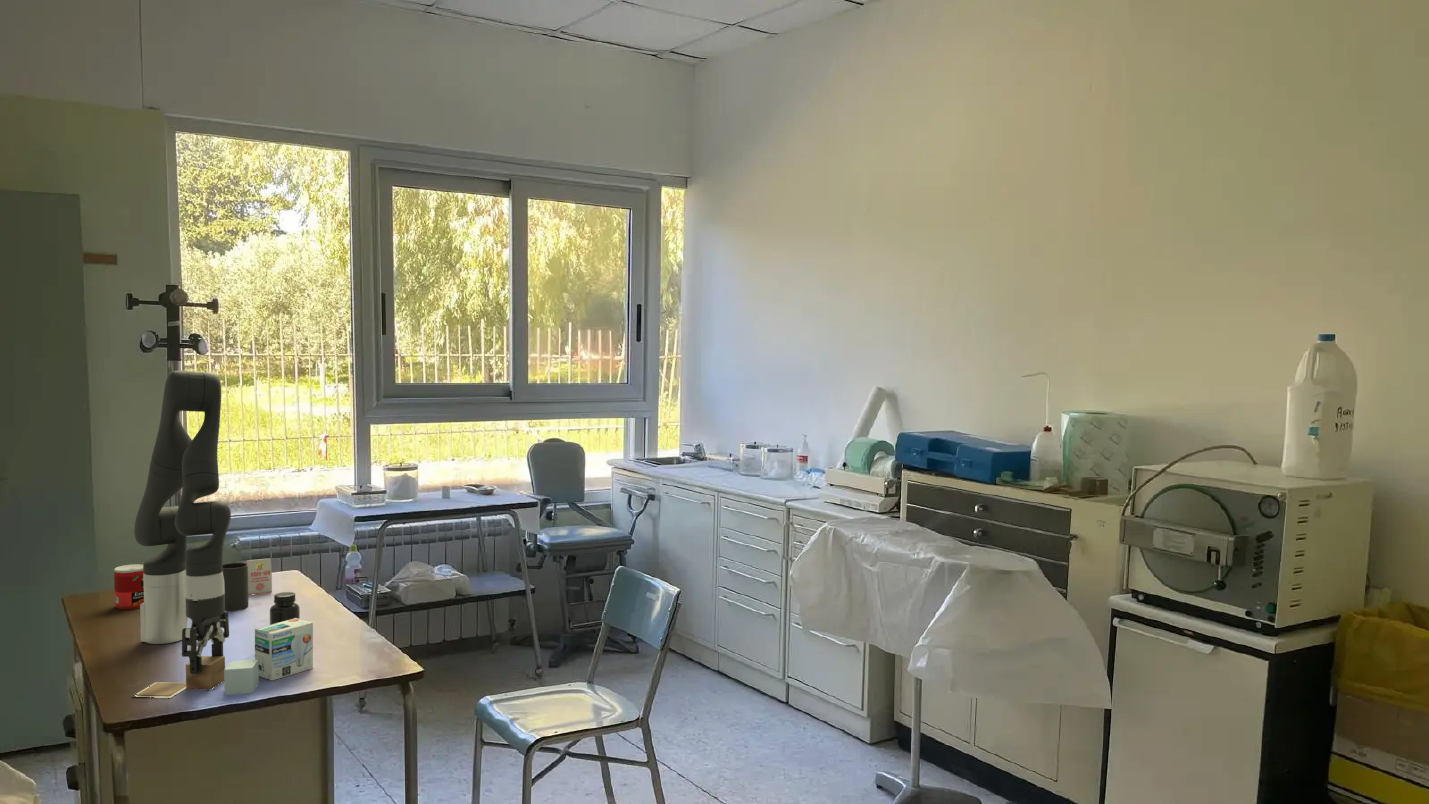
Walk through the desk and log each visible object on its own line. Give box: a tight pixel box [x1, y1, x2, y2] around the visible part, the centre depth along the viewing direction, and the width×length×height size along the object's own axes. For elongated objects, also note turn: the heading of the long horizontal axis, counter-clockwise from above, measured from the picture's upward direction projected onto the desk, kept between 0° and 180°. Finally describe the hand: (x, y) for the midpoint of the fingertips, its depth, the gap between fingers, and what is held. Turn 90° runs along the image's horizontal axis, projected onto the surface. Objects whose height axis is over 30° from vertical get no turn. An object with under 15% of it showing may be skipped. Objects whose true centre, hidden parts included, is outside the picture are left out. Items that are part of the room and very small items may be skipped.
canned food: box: [113, 563, 144, 610], centre depth 263 cm, size 8×8×11 cm
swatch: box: [134, 681, 187, 699], centre depth 200 cm, size 8×8×1 cm
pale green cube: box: [223, 659, 260, 695], centre depth 202 cm, size 6×6×6 cm
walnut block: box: [185, 655, 226, 690], centre depth 204 cm, size 6×6×6 cm
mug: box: [223, 562, 249, 612], centre depth 261 cm, size 10×7×12 cm
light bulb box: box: [254, 618, 314, 681], centre depth 213 cm, size 11×7×11 cm, turn 148°
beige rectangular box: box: [245, 557, 273, 596], centre depth 278 cm, size 4×7×10 cm, turn 121°
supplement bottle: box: [269, 591, 301, 625], centre depth 234 cm, size 7×7×12 cm
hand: (206, 666), depth 204 cm, fingers open, 8 cm apart
